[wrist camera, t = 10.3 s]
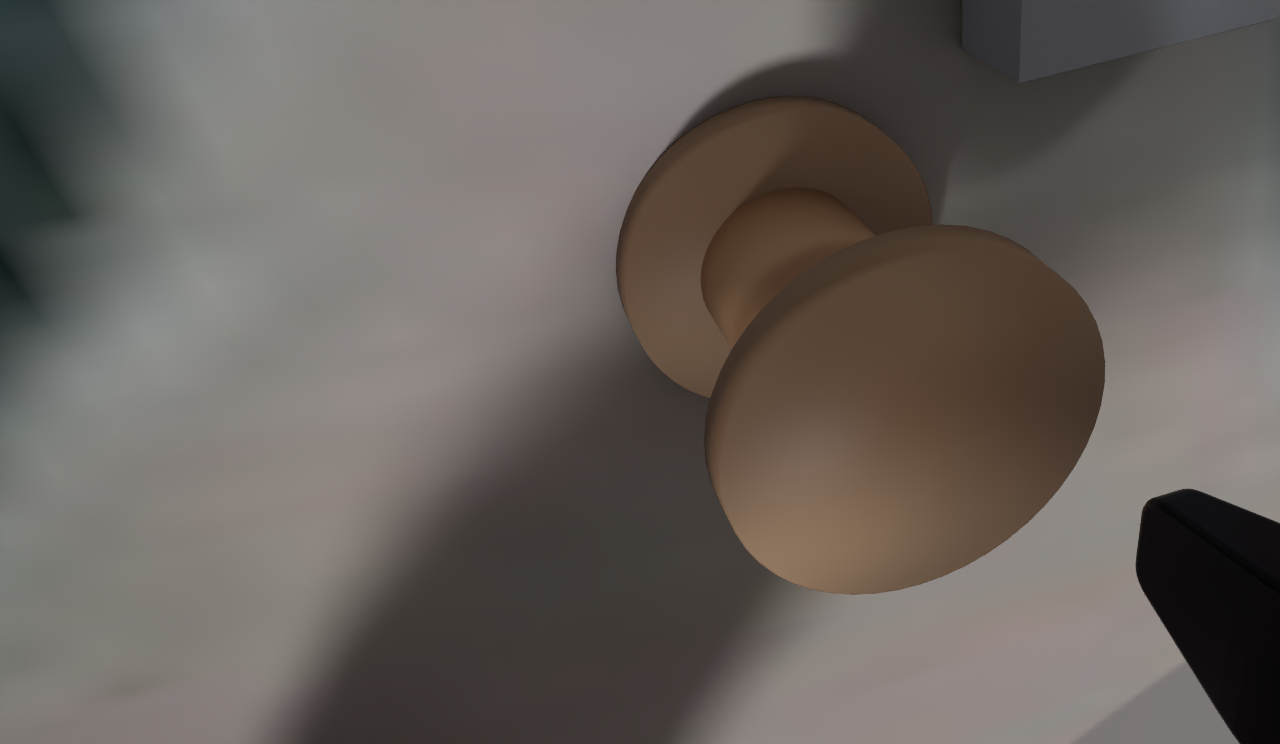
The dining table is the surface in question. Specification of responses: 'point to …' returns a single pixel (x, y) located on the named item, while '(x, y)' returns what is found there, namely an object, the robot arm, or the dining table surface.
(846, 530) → the door knob
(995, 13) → the notched board
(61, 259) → the dining table surface
